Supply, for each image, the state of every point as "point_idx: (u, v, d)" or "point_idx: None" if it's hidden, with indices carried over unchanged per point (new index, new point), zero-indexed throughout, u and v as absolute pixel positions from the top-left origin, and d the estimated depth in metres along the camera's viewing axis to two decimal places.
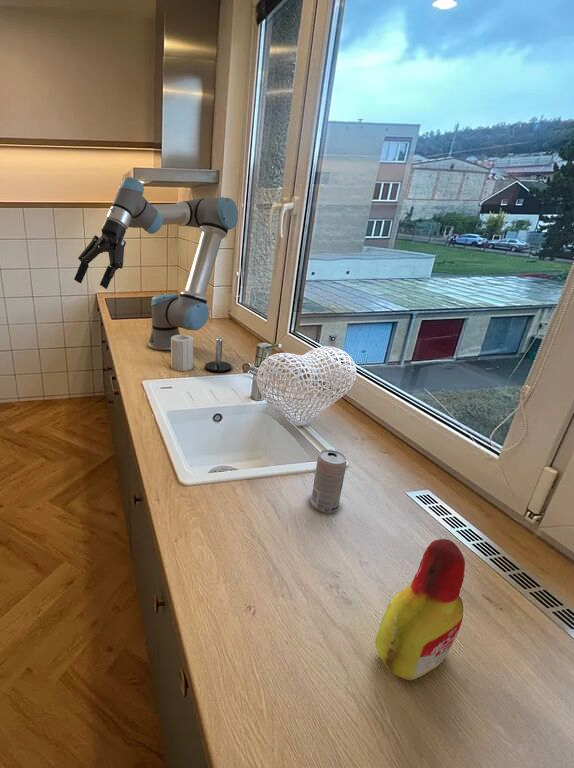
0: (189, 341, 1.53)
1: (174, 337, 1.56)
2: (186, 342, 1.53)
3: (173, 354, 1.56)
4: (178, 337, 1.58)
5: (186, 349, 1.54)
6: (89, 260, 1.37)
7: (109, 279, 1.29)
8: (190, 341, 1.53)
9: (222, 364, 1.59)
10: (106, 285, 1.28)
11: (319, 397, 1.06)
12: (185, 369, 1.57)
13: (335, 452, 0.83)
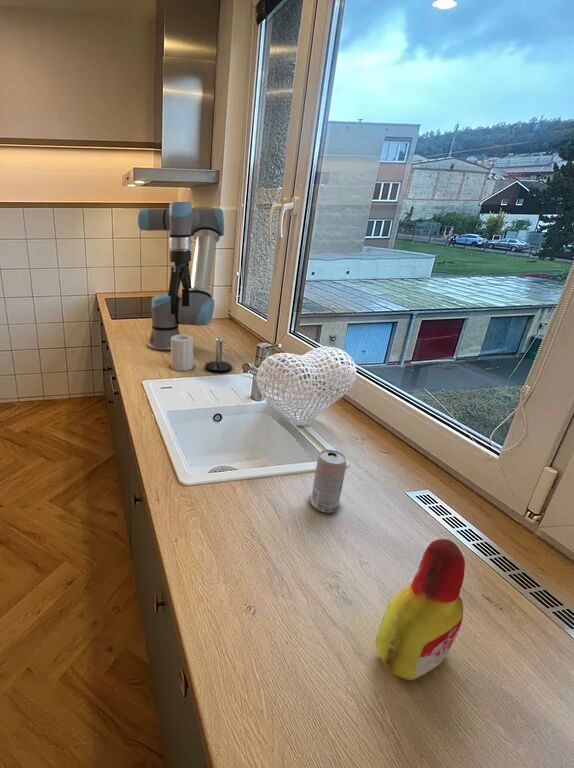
0: (189, 341, 1.53)
1: (174, 337, 1.56)
2: (186, 342, 1.53)
3: (173, 354, 1.56)
4: (178, 337, 1.58)
5: (186, 349, 1.54)
6: None
7: None
8: (190, 341, 1.53)
9: (222, 364, 1.59)
10: None
11: (319, 397, 1.06)
12: (185, 369, 1.57)
13: (335, 452, 0.83)
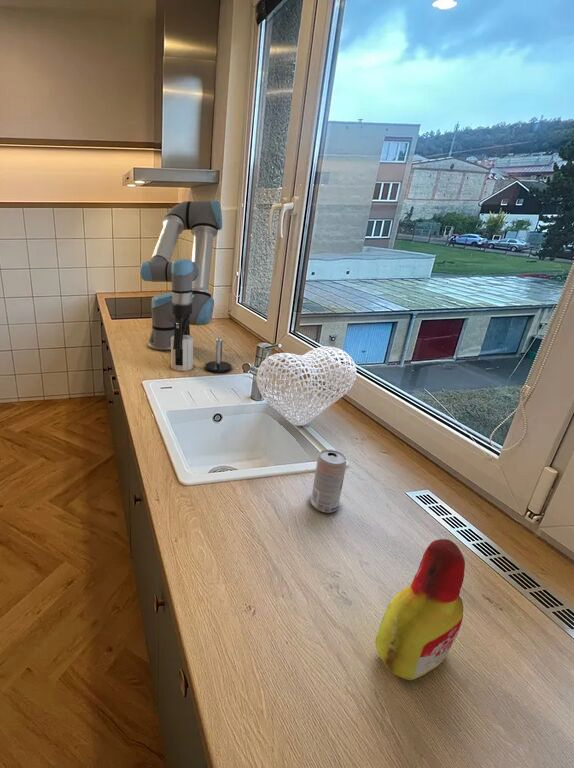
0: (189, 341, 1.53)
1: None
2: (186, 342, 1.53)
3: (173, 354, 1.56)
4: None
5: (186, 349, 1.54)
6: None
7: None
8: (190, 341, 1.53)
9: (222, 364, 1.59)
10: None
11: (319, 397, 1.06)
12: (185, 369, 1.57)
13: (335, 452, 0.83)
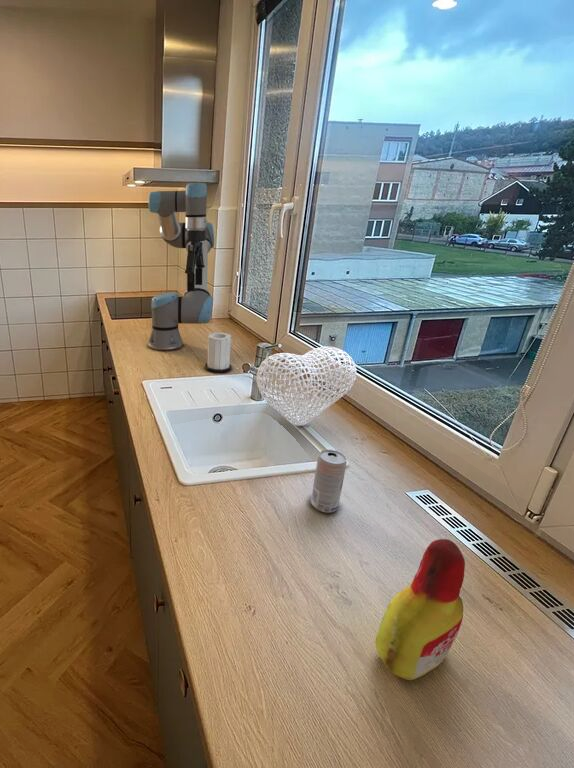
0: (227, 339, 1.50)
1: (211, 335, 1.54)
2: (225, 340, 1.50)
3: (210, 352, 1.53)
4: (215, 335, 1.55)
5: (224, 347, 1.51)
6: None
7: None
8: (228, 339, 1.51)
9: None
10: None
11: (319, 397, 1.06)
12: (222, 368, 1.54)
13: (335, 452, 0.83)
